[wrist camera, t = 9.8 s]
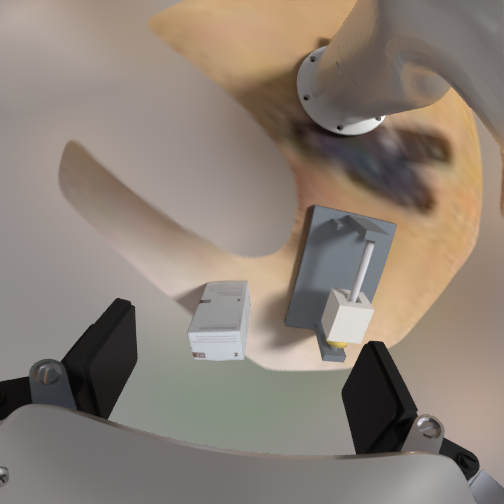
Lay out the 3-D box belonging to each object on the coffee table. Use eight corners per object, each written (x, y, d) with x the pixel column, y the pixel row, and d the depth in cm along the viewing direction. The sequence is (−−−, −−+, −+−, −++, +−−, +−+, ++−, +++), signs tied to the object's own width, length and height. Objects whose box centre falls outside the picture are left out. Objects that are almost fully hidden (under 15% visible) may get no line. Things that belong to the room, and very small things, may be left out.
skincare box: (248, 279, 41) (242, 328, 29) (251, 306, 42) (246, 360, 31) (205, 281, 41) (185, 330, 30) (209, 308, 43) (193, 361, 31)
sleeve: (331, 287, 36) (339, 305, 31) (363, 292, 36) (374, 309, 32) (321, 320, 37) (327, 340, 33) (351, 324, 37) (360, 343, 33)
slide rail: (314, 204, 37) (328, 219, 29) (394, 223, 37) (422, 241, 29) (284, 322, 43) (288, 358, 35) (356, 331, 43) (372, 365, 35)
